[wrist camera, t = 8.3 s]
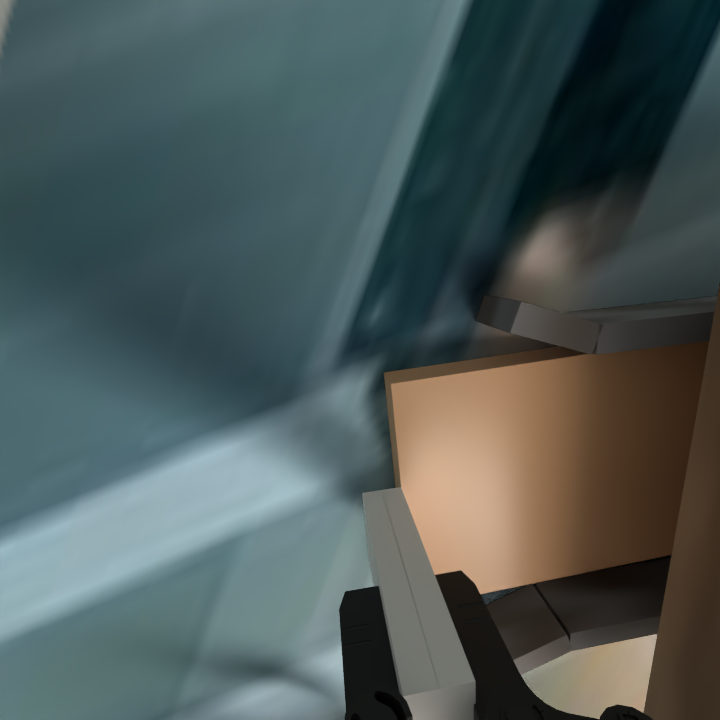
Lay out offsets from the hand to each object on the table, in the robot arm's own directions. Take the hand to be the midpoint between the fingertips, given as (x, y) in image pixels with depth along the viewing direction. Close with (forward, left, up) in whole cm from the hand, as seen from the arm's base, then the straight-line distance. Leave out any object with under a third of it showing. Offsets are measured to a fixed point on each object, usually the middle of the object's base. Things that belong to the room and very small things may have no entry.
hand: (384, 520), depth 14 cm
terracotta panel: (+9, +1, -2) cm, 9 cm away
